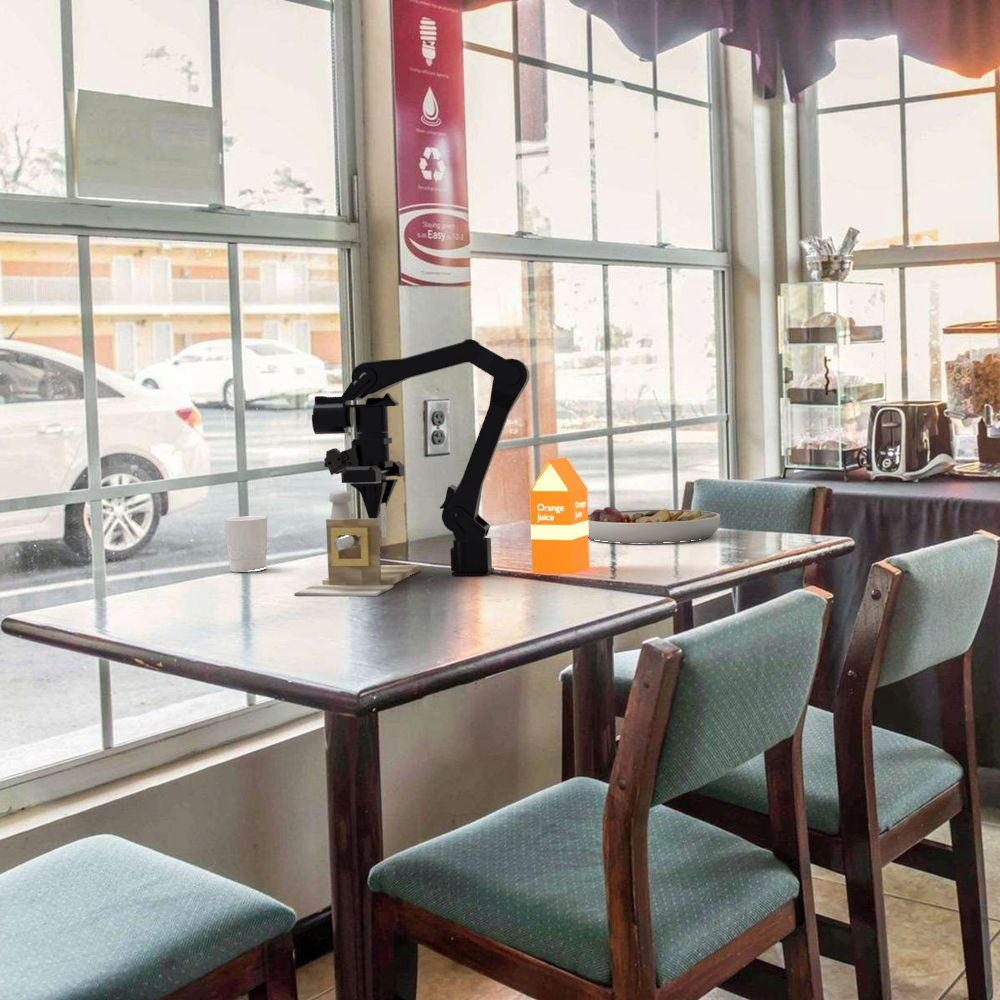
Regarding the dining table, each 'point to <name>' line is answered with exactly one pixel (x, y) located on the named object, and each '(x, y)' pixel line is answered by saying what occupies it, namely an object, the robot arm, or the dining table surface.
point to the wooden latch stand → (358, 567)
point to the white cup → (246, 542)
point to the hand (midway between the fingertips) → (375, 520)
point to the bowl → (651, 525)
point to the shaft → (355, 539)
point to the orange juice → (559, 520)
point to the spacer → (365, 546)
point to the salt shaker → (340, 505)
